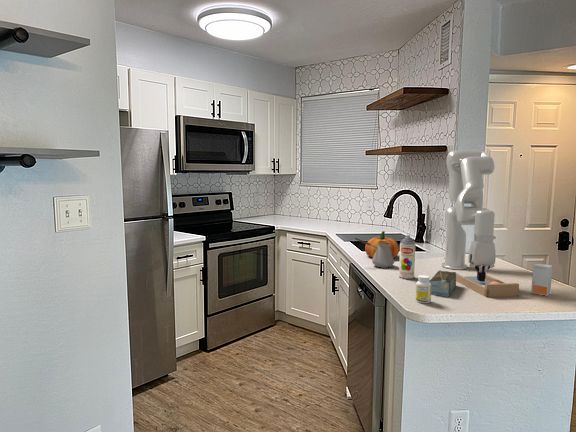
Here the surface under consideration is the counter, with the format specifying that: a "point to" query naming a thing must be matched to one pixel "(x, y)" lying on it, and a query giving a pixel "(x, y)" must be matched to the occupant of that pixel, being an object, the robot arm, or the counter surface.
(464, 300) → the counter surface
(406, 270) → the aerosol can
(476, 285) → the lane
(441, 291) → the beverage carton
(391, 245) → the pumpkin
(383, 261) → the coffee pot
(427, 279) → the supplement bottle
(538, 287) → the skincare box
